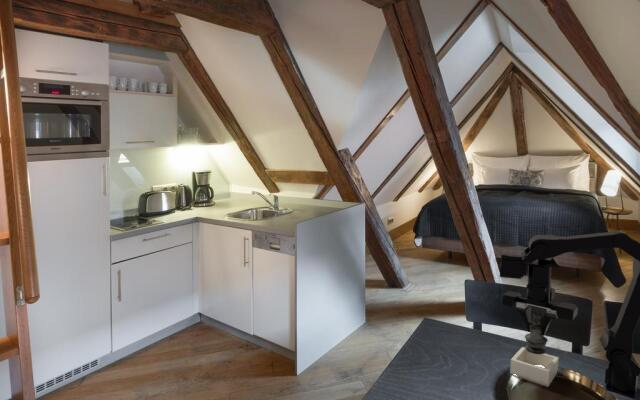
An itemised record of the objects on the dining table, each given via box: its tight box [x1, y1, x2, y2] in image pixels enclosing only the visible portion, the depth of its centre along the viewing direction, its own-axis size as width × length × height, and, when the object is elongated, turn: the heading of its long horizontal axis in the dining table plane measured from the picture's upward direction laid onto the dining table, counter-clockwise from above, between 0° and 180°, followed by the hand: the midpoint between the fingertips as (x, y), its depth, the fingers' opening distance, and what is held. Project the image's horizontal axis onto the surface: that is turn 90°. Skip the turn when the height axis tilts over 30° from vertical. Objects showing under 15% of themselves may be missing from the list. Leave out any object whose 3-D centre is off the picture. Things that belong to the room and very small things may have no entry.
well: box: [509, 346, 560, 388], centre depth 124 cm, size 10×10×4 cm
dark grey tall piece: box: [524, 309, 548, 354], centre depth 122 cm, size 6×6×12 cm
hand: (536, 333), depth 122 cm, fingers closed on dark grey tall piece, 3 cm apart
